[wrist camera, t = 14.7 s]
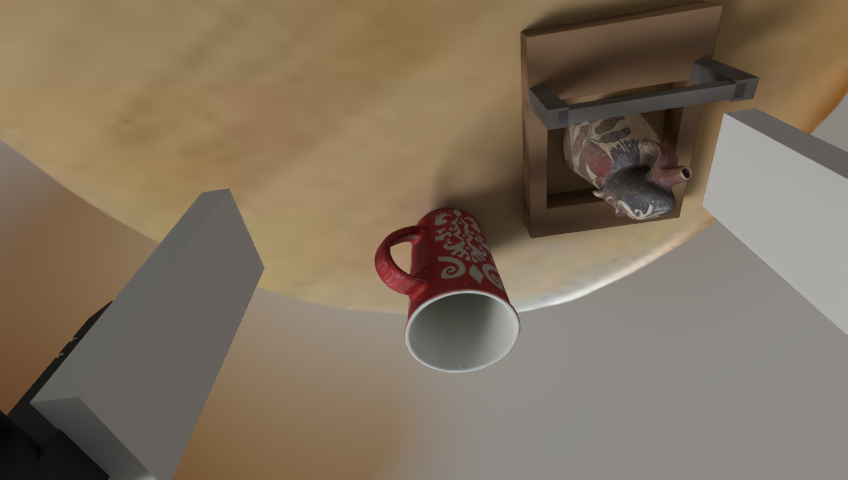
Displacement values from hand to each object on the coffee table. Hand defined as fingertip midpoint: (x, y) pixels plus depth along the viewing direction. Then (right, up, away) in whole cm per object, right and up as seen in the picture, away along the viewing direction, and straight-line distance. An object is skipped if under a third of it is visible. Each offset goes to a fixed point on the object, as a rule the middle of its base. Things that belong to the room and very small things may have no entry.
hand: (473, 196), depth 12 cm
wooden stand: (+14, +9, +27) cm, 32 cm away
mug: (0, 0, +32) cm, 32 cm away
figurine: (+14, +8, +28) cm, 32 cm away
